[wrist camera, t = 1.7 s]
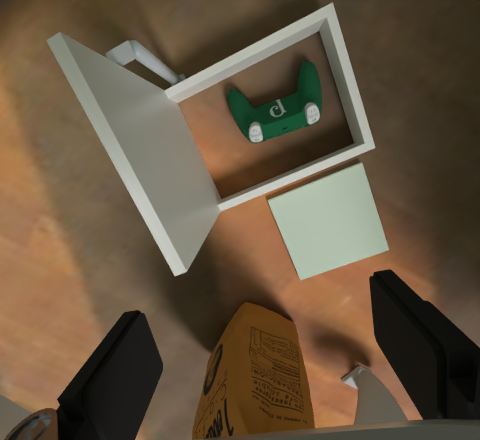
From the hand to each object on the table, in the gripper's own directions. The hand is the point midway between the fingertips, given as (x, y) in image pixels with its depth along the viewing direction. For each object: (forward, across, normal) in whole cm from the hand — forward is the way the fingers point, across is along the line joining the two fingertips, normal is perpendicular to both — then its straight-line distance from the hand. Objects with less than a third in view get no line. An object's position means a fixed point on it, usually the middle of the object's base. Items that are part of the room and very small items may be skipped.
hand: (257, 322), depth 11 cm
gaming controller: (+22, -4, -10) cm, 24 cm away
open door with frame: (+21, -3, -9) cm, 23 cm away
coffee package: (+22, +4, +19) cm, 29 cm away
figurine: (+21, -9, +27) cm, 36 cm away
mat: (+21, -8, +4) cm, 23 cm away
